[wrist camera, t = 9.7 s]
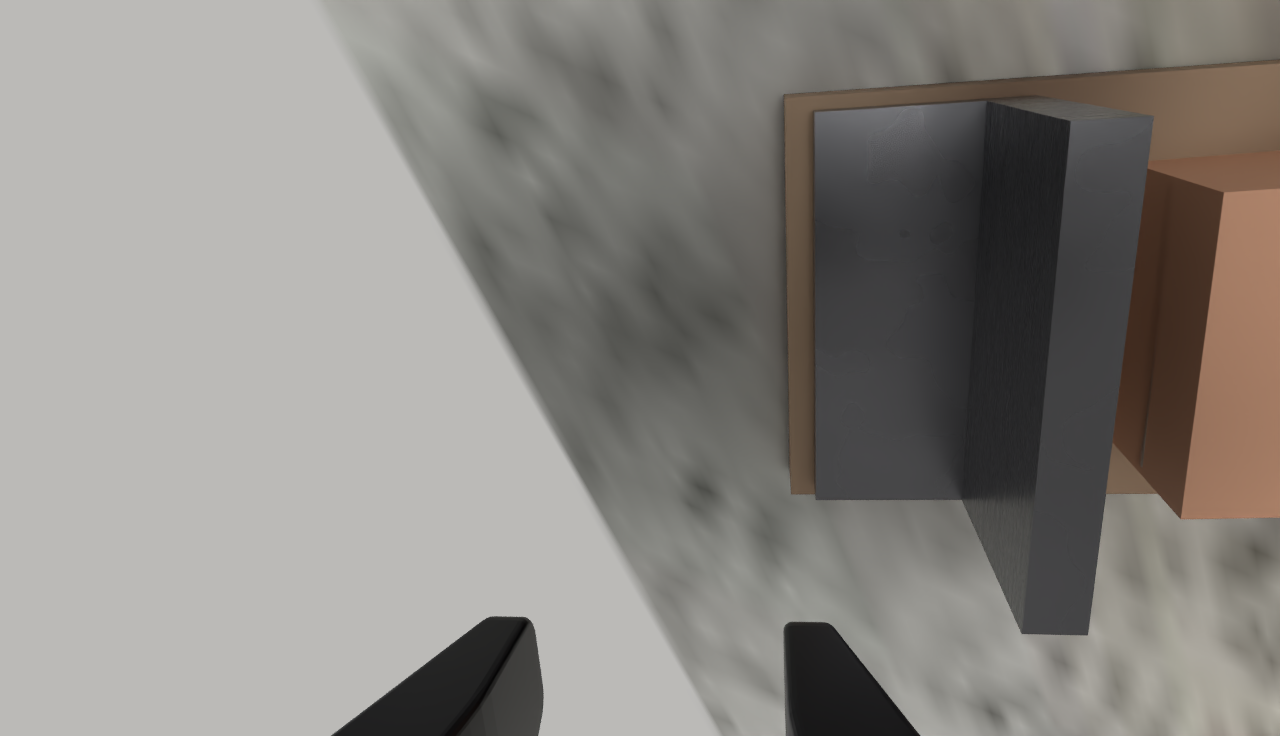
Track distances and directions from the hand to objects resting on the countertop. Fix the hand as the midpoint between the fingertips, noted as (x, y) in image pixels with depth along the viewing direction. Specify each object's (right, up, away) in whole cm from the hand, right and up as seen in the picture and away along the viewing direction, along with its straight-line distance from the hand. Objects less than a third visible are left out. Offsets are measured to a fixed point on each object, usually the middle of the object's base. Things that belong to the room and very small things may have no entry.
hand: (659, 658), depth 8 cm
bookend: (+5, +4, +9) cm, 11 cm away
